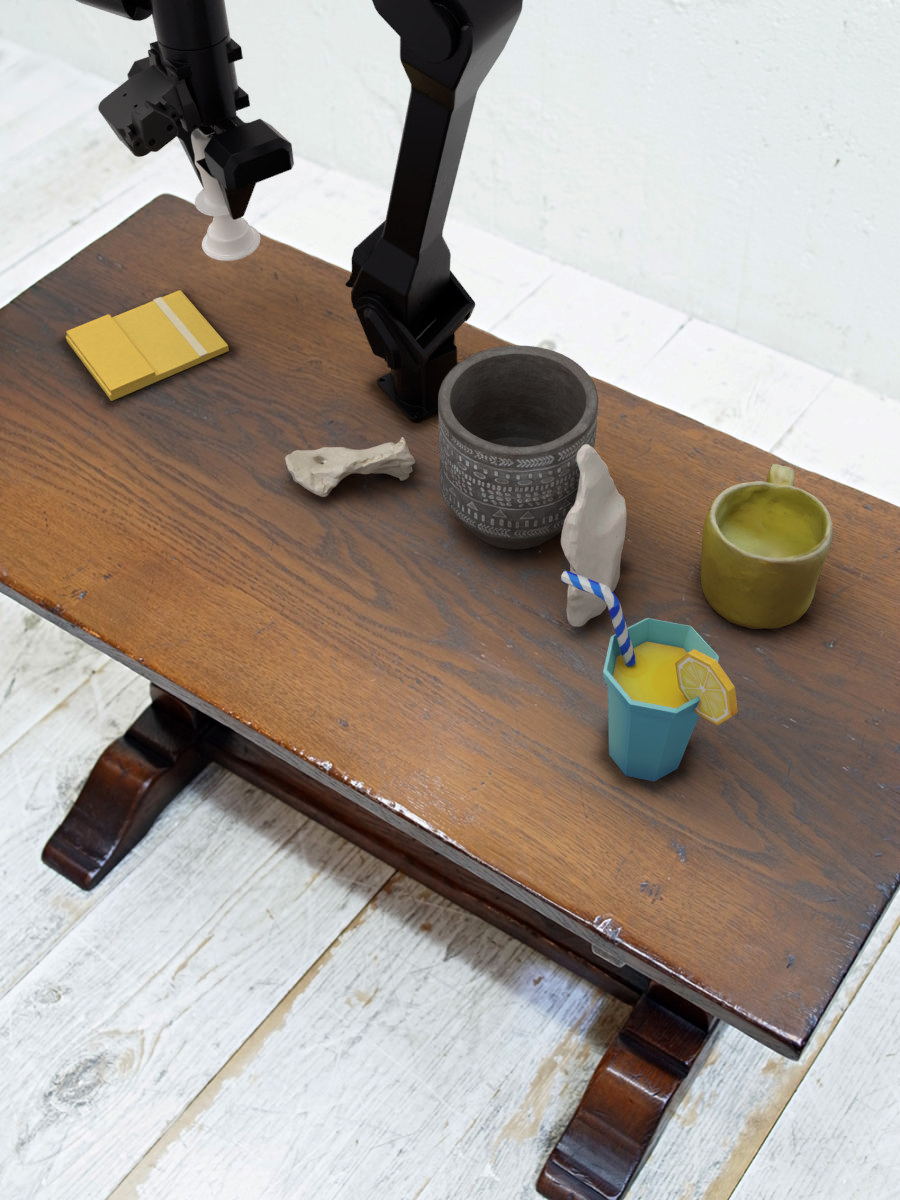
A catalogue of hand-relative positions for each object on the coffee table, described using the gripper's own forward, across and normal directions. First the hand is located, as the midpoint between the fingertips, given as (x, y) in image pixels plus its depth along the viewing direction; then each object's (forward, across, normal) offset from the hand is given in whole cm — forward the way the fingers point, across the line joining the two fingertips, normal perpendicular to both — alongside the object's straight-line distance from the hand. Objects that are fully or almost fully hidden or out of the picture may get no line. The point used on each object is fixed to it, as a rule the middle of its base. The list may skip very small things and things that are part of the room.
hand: (224, 203), depth 114 cm
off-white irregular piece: (+13, +25, -3) cm, 28 cm away
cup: (+13, +59, 0) cm, 60 cm away
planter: (+12, +36, +6) cm, 38 cm away
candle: (+4, 0, 0) cm, 4 cm away
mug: (+13, +52, +18) cm, 57 cm away
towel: (+12, -1, -10) cm, 16 cm away
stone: (+13, +47, +7) cm, 49 cm away
